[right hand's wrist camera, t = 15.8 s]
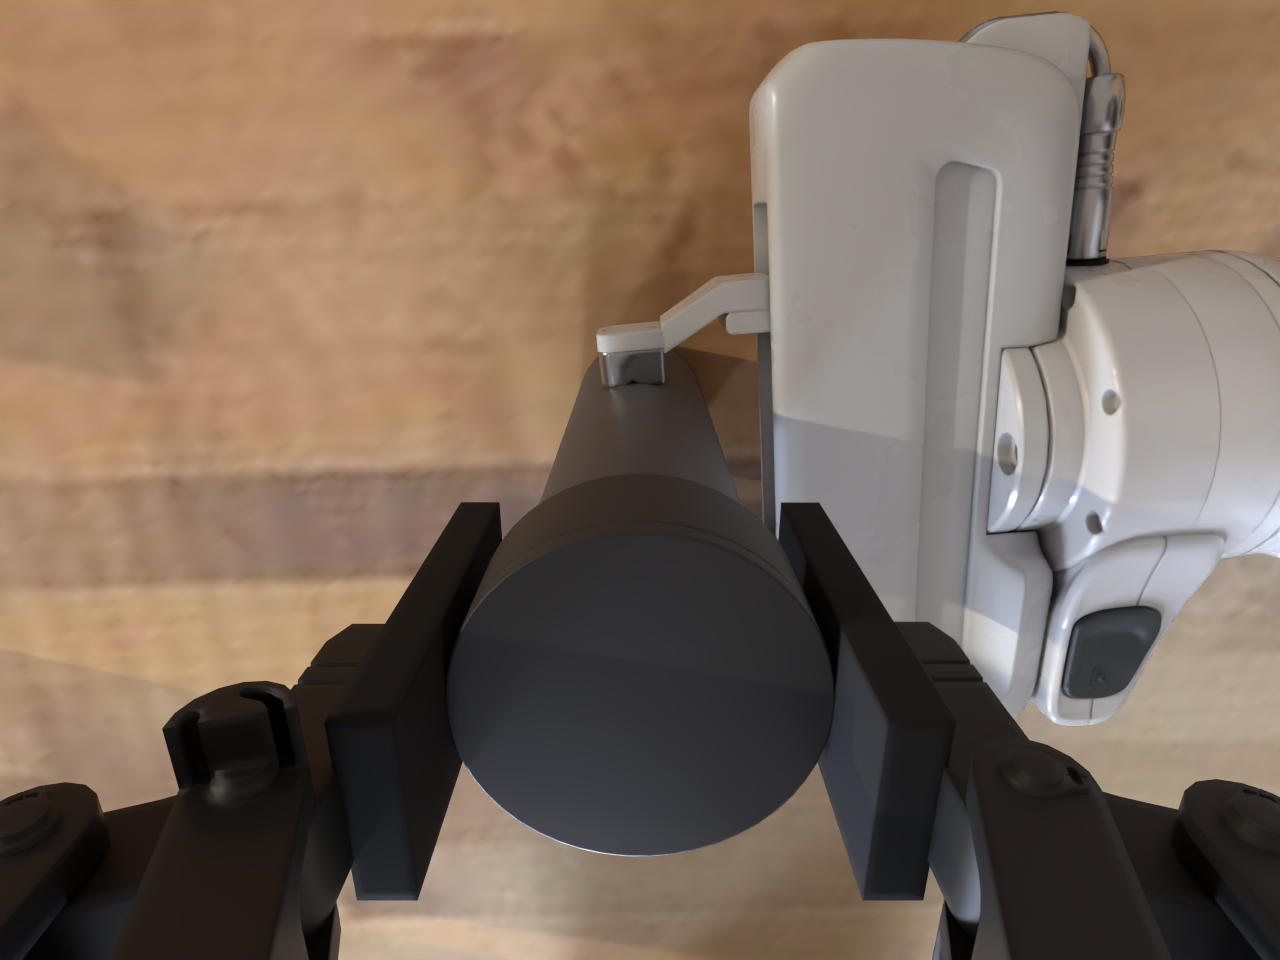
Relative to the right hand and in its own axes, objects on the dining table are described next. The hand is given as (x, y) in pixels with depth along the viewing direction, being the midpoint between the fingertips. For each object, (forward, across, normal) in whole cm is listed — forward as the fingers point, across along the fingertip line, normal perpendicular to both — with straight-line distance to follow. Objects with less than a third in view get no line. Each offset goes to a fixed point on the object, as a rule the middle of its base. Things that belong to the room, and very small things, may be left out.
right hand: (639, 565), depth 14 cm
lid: (-4, 0, 0) cm, 4 cm away
